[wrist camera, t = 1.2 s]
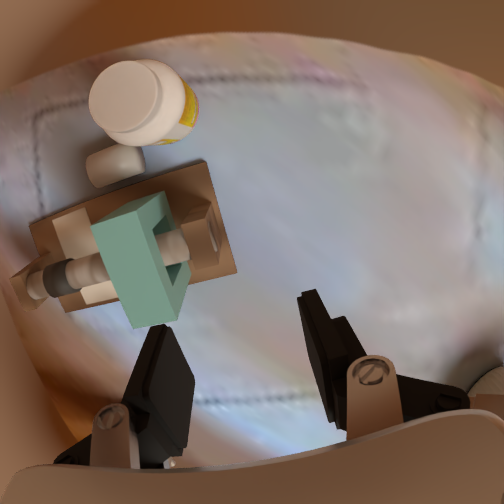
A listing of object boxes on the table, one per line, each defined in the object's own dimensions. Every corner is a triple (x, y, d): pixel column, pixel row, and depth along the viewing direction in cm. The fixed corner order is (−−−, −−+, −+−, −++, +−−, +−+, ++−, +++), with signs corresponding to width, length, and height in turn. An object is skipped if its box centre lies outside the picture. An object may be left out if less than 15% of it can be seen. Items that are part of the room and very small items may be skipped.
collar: (191, 273, 32) (177, 320, 23) (156, 282, 32) (133, 328, 24) (164, 190, 29) (136, 210, 20) (128, 202, 29) (89, 226, 20)
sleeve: (148, 166, 30) (139, 177, 27) (106, 181, 30) (95, 193, 27) (136, 134, 28) (127, 141, 25) (95, 151, 28) (82, 160, 25)
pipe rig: (237, 270, 34) (237, 306, 26) (67, 310, 35) (40, 343, 27) (206, 161, 30) (196, 167, 22) (31, 224, 30) (-7, 245, 23)
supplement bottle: (173, 68, 26) (134, 25, 14) (213, 115, 28) (197, 95, 16) (123, 112, 27) (58, 99, 15) (162, 158, 29) (114, 170, 17)
